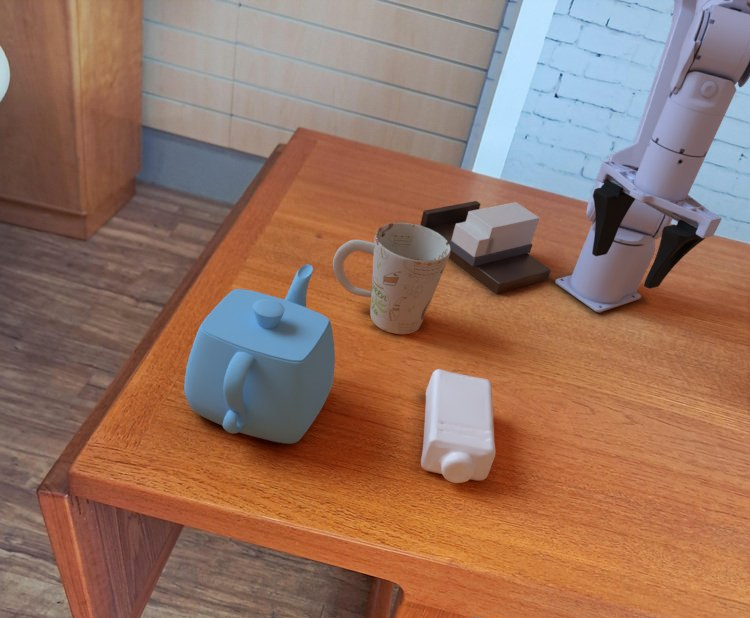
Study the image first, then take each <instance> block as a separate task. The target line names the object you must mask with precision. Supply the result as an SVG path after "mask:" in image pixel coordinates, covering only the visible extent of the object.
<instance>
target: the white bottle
mask: <svg viewBox="0 0 750 618" xmlns="http://www.w3.org/2000/svg"><path fill="white" fill-rule="evenodd" d="M492 384H493V383H492V382H491V380H489V379H487V378H482V377H477V376H472V375H467V374H463V373H457V372H454V371H450V370H449V371H448V370H444V369H440V368H437V369H435V370H434V371H433V372H432V374H431V376H430V378H429V381H428V384H427V386H426V390H425V407H424V409H425V411H424V425H423V443H422V453H421V457H420V466H421V468H422V469H423V470H424V471H426V472H431V473H436V474H441V475H442V476H443V478H444V479H445V480H447V481H448V482H450V483H453V484H461V483H462V484H463V483H465V482H468V481H470V480H472V481H477V482H478V481H484V480H486V478H488V476H489V474H490V471H491V469H492V465H493V462H494V460H495V457H496V453H497V452H496V444H495V427H494V425H495V424H494V403H493V390H492V389H493V387H492V386H493V385H492Z"/></svg>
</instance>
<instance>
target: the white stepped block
mask: <svg viewBox="0 0 750 618" xmlns="http://www.w3.org/2000/svg"><path fill="white" fill-rule="evenodd" d="M539 221H540V217H539V216H538V215H536V214H535V213H534V212H533V211H530V209H527V208H526V207H524V206H523V205H521V204H519V202H517V201H514V202H509V203H505V204H500V205H499V204H498V205H494V206H489V207H484V208H479V209H478V210H473V211H469V212H468V215H467V219H466V222H462V223H457V224H456V225H455V229H454V232H453V236H452V240H450V243H449V245H450V248H451V251H453V252H454V253H455V254H457V255H458V256H459V257H461V258H462V259H463V260H465V261H466V262H467V263H469V264H470V265H471V266H473V267H474V266H478V265H482V264H486V263H490V262H494V261H498V260H502V259H506V258H510V257H514V256H518V255H522V254H526V253H528V254H530V253H531V250H532V248H533V244H532V241H533V239H534V236H535V232H536V229H537V227H538V224H539Z"/></svg>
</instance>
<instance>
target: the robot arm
mask: <svg viewBox="0 0 750 618" xmlns="http://www.w3.org/2000/svg"><path fill="white" fill-rule="evenodd" d="M673 2H674V4H673V10H672V17H671V18H672V19H671V25H670V28H669V32H668V35H667V38H666V42H665V43H664V48H663V50H662V53H661V56H660V59H659V63H658V64H657V65H658V66H657V69H656V71H655V75H654V77H653V80H652V84H651V87H650V90H649V93H648V97H647V99H646V103H645V105H644V109H643V111H642V114H641V117H640V121H639V124H638V127H637V130H636V133H635V136H634V139H633V142H632V144H630V145H629V146H626V147H624V148H621V149H619V150H617V151H614V152H613V153H611V154H610V155H609V156H608V157H607V158H606V159H605V160H604V161H602V162H601V164H600V167H599V170H598V171H597V172H598V173H597V174H596V177H595V183H594V185H593V188H592V191H591V194H590V197H589V200H588V202H587V207H586V212H585V215H586V217H587V220H588V221H590V222H591V226H590V228H589V231H588V234H587V236H586V238H585V241H584V244H583V246H582V248H581V251H580V254H579V256H578V258H577V261H576V264H575V266H574V269H573V271H572V274H570V275H566V276H563V277H559V278H556V279H555V284H556V285H557V286H559V287H560V288H562V289H563V290H564V291H565V292H567V293H569V294H570V295H571V296H573V297H574V298H576V299H577V300H579V301H580V302H581V303H583V304H584V305H585V306H587V307H588V308H589V309H591V310H593V311H594V312H595V313H602V312H605V311H608V310H612V309H614V308H617V307H620V306H624V305H627V304H629V303H632V302H635V301H638V300H641V299H642V295H641V294H640V293H638V290H639V288H640V285H641V284H642V282H643V279H644V277H645V275H646V273H647V271H648V269H649V267H650V264H651V263H652V260H653V258H654V255H655V252H656V255H655V259H654V260H653V263H652V265H651V267H650V269H649V271H648V273H647V275H646V278H645V280H644V283H643V287H645V288H646V289H647V290H650V289H654V288H657V287H659V286H660V285H661V283H663V281H664V280H665V278H666V277H667V276H668V274H669V273H670V272H671V271H672V270H673V268H675V266H677V264H678V263H679V261H681V260H682V259H683V258H684V257H685V256H686V255H687V254H688V253H689V252H690V251H692V250H693V249H694V248H695V247H697V246H698V245H699V244H700V243H701V242H703V241H704V240H705V239H706V238H711V237H713V236H714V235H715V233H716V231H717V229H718V227H719V226H720V224H721V222H722V219H723V218H722V217H721V216H719V215H717V214H716V213H714V212H712V211H711V210H709V209H708V208H706V207H705V206H704V205H703V204H701V203H700V202H699V201H698V200H696V199H694V198H693V197H691V196H690V195H689V193H690V191H691V189H692V188H693V185H694V182H695V180H696V178H697V176H698V174H699V171H700V169H701V167H702V165H703V163H704V161H705V159H706V157H707V155H708V153H709V151H710V148H711V146H712V143H713V142H714V140H715V138H716V136H717V133H718V131H719V128H720V127H721V124H722V122H723V120H724V118H725V115H726V114H727V112H728V109H729V107H730V105H731V103H732V101H733V99H734V96H735V94H736V93H737V87H736V84H737V85H738V87H739V88H742V87H744V86H745V85H746V84H747V82H748V81H749V79H750V0H673ZM673 220H674V221H676V222H677V223H676V224H672V221H673ZM658 239H660V242H659V246H658V249H657V251H656V240H658Z"/></svg>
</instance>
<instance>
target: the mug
mask: <svg viewBox="0 0 750 618" xmlns="http://www.w3.org/2000/svg"><path fill="white" fill-rule="evenodd" d="M420 225H421V224H415V223H409V222H391V223H387V224H384V225H382V226H380V227H379V228H378V229H377V230H376V232H375V235H374V241H373V242H371V241H367V240H363V239H351V240H349V241H346V242H345V243H343V244H342V245H341V246H339V248H338V249H337V250H336V252H335V254H334V256H333V260H332V270H333V274H334V277H335V279H336V280H337V282H338V283H339V284H340V285H341V286H342V288H343V289H345V290H346V291H347V292H349V293H350V294H352V295H354V296H358V297H363V298H369V299H370V310H369V311H370V312H369V313H370V314H369V315H370V320H371V321H372V323H373V325H375V326H376V327H377V328H379V329H381V331H382V330H383V331H384V332H388V333H390V334H395V335H409V334H413V333H415V332H417V331H418V330H419V329H420V327H422V326H421V325H422V323H423V321H424V319H425V316H426V314H427V311H428V309H429V306H430V304H431V302H432V299H433V297H434V294H435V292H436V289H437V287H438V285H439V282H440V280H441V278H442V276H443V273H444V270H445V268H446V265H447V263H448V261H449V259H450V258H449V255H450V250H451V248H450V245H449V243H448V242H447V240H446V239H445V238H444V237H443V236H441V235H440V234H438V233H437V232H435V231H433V230H431V229H429V228H426V227H423V226H420ZM354 252H361V253H366V254H369V255H372V257H373V260H372V276H371V277H372V278H371V290H369V289H364V288H362V287H358V286H357V287H356V286H354V285H353V283H351V281H349V278H348V277H347V275H346V273H345V268H344V264H345V261H346V259H347V257H349V256H350V255H351V254H353V253H354Z"/></svg>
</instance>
